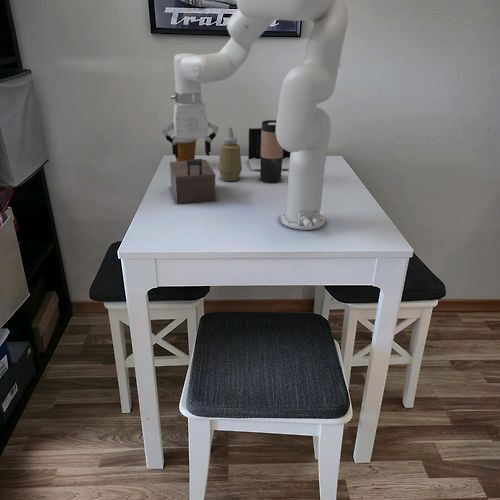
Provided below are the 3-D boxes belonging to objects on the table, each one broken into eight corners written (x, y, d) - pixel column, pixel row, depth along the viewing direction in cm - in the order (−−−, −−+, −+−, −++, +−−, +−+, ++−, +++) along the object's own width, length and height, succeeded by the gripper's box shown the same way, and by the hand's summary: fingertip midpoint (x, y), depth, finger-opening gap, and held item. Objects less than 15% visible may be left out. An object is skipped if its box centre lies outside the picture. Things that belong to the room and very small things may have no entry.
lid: (215, 177, 143) (215, 160, 141) (176, 179, 140) (175, 162, 138) (206, 162, 157) (205, 146, 154) (170, 164, 154) (169, 148, 152)
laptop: (251, 171, 175) (252, 136, 169) (247, 161, 186) (248, 128, 180) (299, 170, 177) (301, 135, 171) (292, 160, 188) (294, 127, 182)
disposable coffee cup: (168, 164, 180) (166, 133, 175) (189, 160, 186) (188, 129, 180) (181, 171, 174) (180, 138, 168) (203, 166, 179) (202, 134, 174)
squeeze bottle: (244, 181, 165) (245, 129, 157) (222, 183, 162) (222, 131, 154) (236, 174, 171) (237, 124, 163) (215, 176, 169) (214, 125, 160)
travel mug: (281, 176, 170) (284, 120, 161) (281, 183, 163) (284, 125, 154) (260, 175, 171) (262, 119, 161) (258, 182, 164) (260, 124, 155)
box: (215, 201, 148) (215, 176, 144) (177, 204, 145) (175, 179, 141) (206, 185, 161) (206, 162, 157) (171, 187, 158) (170, 164, 154)
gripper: (160, 102, 135) (165, 160, 142) (220, 99, 139) (221, 156, 146) (158, 97, 141) (162, 154, 149) (215, 95, 145) (216, 150, 153)
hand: (192, 155), depth 148 cm, fingers open, 9 cm apart
